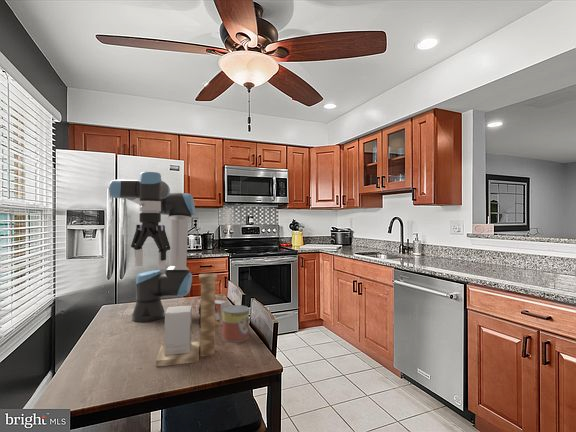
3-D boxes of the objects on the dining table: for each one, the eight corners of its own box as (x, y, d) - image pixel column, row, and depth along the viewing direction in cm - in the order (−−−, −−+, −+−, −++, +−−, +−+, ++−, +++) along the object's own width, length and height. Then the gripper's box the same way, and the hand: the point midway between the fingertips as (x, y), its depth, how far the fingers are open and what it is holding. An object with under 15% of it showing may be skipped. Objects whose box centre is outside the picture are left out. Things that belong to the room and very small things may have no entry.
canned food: (236, 344, 126) (237, 314, 127) (216, 338, 132) (216, 309, 132) (254, 335, 136) (254, 307, 136) (234, 330, 142) (234, 303, 142)
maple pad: (156, 366, 107) (156, 360, 107) (161, 349, 120) (161, 344, 120) (198, 361, 111) (198, 356, 111) (199, 346, 124) (199, 341, 124)
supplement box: (190, 353, 113) (190, 311, 113) (163, 356, 111) (164, 313, 111) (192, 343, 122) (192, 304, 122) (167, 345, 119) (167, 306, 120)
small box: (206, 324, 150) (206, 302, 150) (213, 320, 156) (213, 299, 156) (220, 326, 147) (220, 303, 147) (227, 322, 153) (227, 300, 153)
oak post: (198, 357, 114) (199, 276, 114) (198, 350, 120) (199, 273, 121) (216, 355, 116) (217, 276, 116) (215, 348, 122) (216, 273, 122)
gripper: (121, 212, 124) (121, 266, 124) (163, 212, 111) (163, 271, 111) (138, 212, 130) (138, 263, 130) (180, 212, 118) (180, 268, 118)
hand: (149, 267), depth 121 cm, fingers open, 13 cm apart
